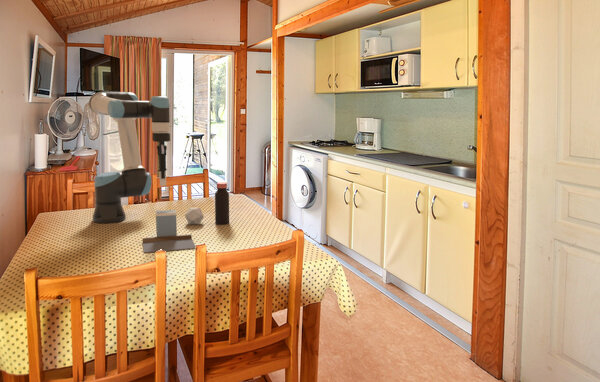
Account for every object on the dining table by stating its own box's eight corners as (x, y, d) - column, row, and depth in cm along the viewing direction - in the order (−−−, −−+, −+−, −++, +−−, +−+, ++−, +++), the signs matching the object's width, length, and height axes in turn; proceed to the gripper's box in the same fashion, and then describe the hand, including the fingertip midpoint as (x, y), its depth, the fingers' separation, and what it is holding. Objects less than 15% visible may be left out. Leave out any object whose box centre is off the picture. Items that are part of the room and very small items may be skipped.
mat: (142, 243, 194) (142, 242, 194) (191, 239, 201) (191, 238, 201) (144, 253, 181) (143, 252, 181) (196, 248, 188) (196, 247, 188)
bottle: (222, 225, 225) (222, 184, 221) (212, 223, 228) (211, 183, 225) (232, 222, 231) (231, 182, 227) (221, 220, 234) (221, 181, 231)
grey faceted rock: (194, 228, 222) (205, 211, 224) (179, 218, 223) (191, 201, 224) (197, 229, 230) (208, 213, 232) (183, 220, 231) (194, 204, 232)
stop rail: (142, 242, 195) (142, 237, 195) (191, 238, 202) (191, 234, 202) (142, 243, 194) (142, 238, 194) (191, 239, 201) (191, 234, 201)
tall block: (156, 237, 202) (155, 210, 200) (175, 236, 205) (175, 209, 203) (157, 241, 198) (156, 213, 196) (177, 239, 200) (176, 212, 198)
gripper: (171, 133, 200) (173, 187, 204) (168, 131, 212) (170, 182, 216) (153, 133, 197) (155, 188, 201) (151, 131, 209) (153, 183, 213)
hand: (163, 185), depth 209 cm, fingers closed
